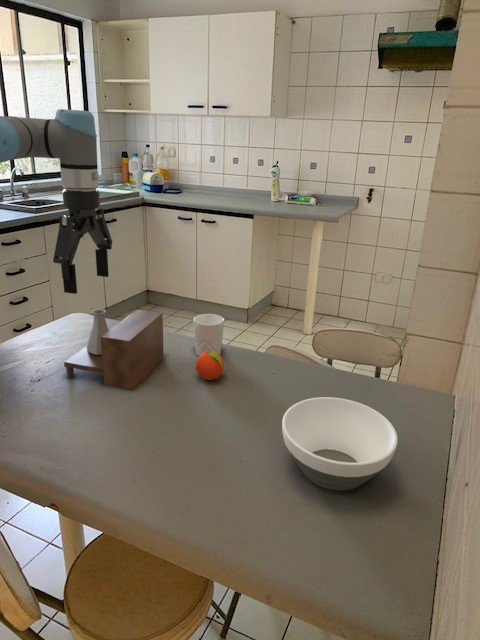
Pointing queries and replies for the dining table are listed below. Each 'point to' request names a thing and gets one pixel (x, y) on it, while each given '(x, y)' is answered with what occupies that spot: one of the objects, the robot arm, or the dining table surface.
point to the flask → (97, 332)
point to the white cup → (208, 333)
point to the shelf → (125, 351)
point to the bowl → (338, 440)
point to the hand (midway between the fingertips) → (87, 284)
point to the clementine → (210, 365)
